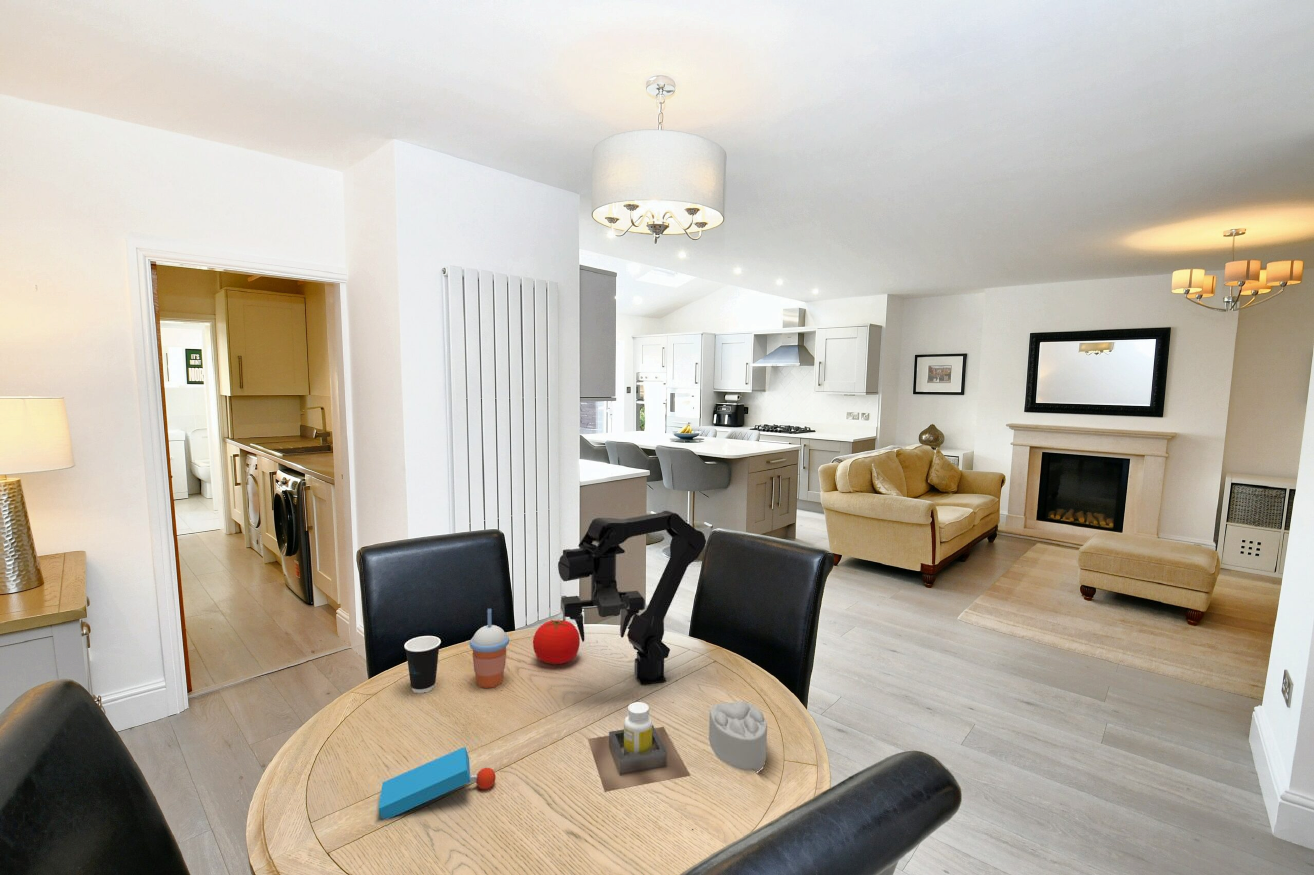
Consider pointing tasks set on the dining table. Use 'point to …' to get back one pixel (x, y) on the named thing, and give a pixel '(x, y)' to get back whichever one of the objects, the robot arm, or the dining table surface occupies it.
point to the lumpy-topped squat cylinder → (738, 735)
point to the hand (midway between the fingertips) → (602, 639)
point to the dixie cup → (422, 662)
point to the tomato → (556, 642)
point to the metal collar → (637, 754)
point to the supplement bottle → (637, 729)
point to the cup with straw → (489, 654)
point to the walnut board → (616, 781)
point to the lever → (430, 782)
